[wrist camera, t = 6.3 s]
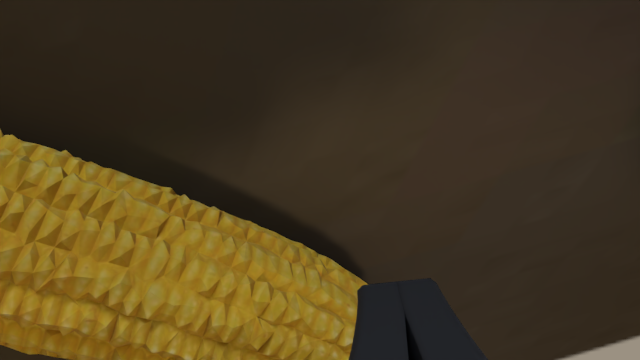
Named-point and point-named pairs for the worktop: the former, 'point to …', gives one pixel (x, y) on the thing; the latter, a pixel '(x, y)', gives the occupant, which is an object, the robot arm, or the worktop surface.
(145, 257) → the food
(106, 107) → the worktop surface
